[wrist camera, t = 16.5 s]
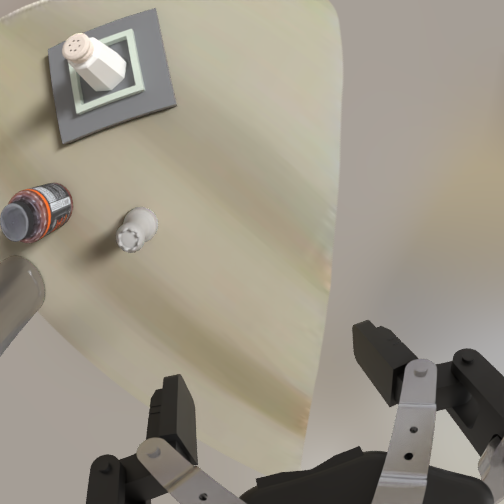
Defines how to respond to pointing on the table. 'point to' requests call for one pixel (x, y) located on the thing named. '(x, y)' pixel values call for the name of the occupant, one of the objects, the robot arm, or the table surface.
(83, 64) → the pepper shaker
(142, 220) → the rook chess piece
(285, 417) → the table surface
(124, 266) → the table surface
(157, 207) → the table surface
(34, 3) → the table surface
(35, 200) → the supplement bottle
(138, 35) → the baseplate
